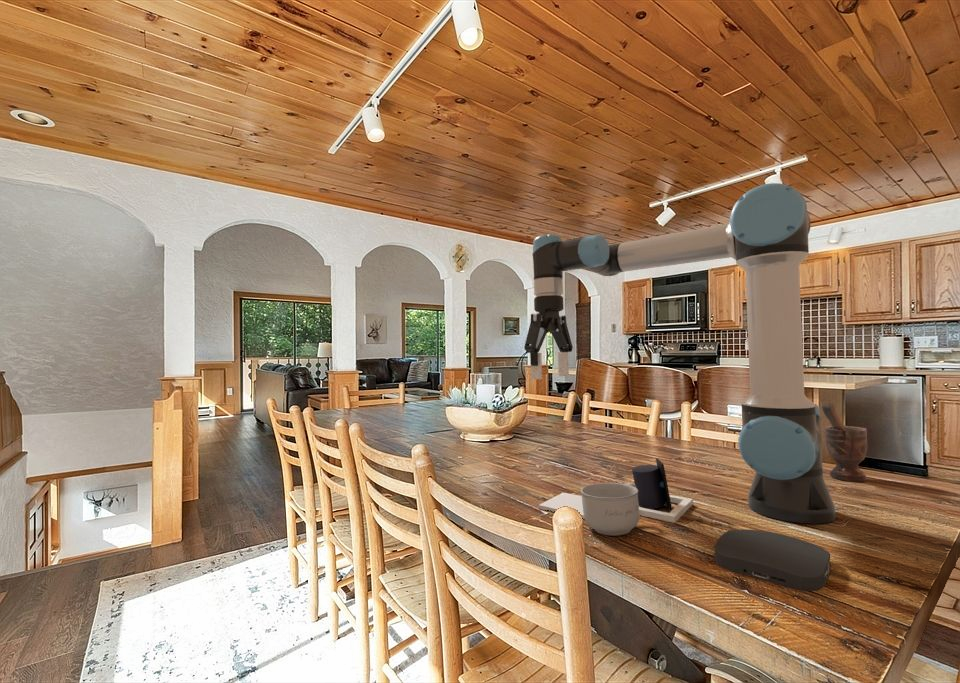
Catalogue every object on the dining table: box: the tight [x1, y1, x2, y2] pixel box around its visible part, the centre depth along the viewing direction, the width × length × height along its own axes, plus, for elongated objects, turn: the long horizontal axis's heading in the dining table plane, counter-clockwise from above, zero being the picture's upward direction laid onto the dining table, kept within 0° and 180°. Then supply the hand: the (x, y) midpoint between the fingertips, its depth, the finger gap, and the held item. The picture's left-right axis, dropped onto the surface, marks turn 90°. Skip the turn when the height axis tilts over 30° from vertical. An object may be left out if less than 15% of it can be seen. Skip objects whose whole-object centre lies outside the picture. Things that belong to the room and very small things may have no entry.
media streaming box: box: [714, 529, 832, 592], centre depth 72 cm, size 15×15×3 cm
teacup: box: [580, 482, 640, 537], centre depth 88 cm, size 14×11×8 cm
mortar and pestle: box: [821, 402, 868, 483], centre depth 116 cm, size 12×9×20 cm
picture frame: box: [639, 494, 694, 524], centre depth 99 cm, size 14×14×1 cm
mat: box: [538, 492, 585, 520], centre depth 100 cm, size 11×11×1 cm
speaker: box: [631, 458, 673, 513], centre depth 100 cm, size 8×6×10 cm
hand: (550, 377), depth 117 cm, fingers open, 13 cm apart
